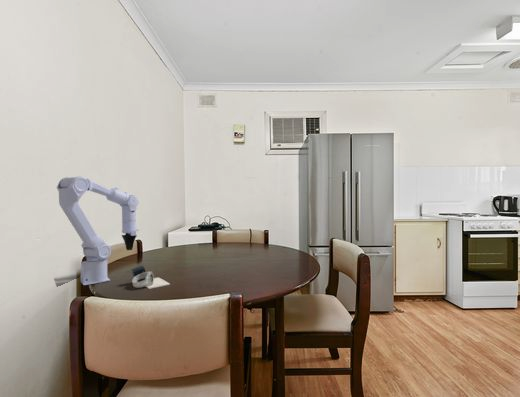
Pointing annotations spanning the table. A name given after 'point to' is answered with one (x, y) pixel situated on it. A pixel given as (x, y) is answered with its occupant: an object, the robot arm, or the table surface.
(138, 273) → the watch
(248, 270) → the table surface
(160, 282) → the mat
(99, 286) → the table surface
